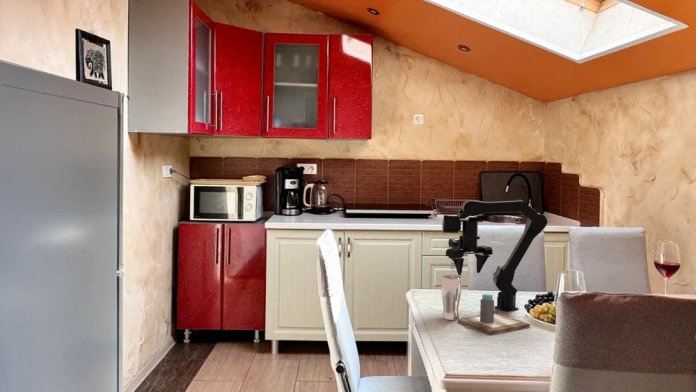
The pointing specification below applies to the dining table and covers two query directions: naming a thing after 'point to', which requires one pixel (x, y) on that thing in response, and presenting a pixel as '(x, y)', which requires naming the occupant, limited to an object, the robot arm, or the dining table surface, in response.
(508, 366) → the dining table surface
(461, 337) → the dining table surface
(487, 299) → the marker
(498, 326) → the wooden tray
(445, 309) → the metal tumbler
